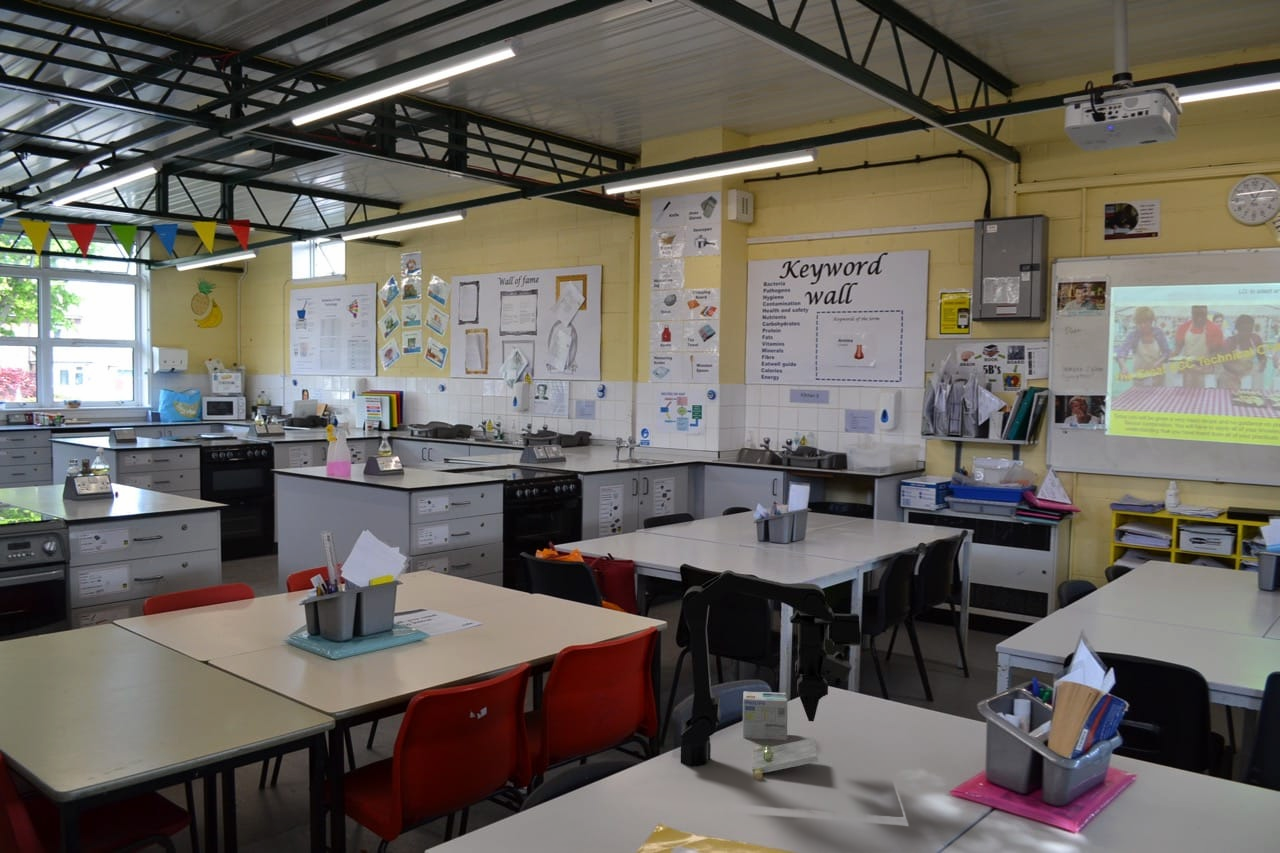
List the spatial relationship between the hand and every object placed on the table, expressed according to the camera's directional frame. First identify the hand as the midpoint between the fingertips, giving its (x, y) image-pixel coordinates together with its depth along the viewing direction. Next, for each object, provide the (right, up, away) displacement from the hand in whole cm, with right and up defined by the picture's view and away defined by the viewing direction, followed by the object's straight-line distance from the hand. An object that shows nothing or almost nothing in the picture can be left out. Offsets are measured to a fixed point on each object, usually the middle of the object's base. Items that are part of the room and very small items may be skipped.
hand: (810, 715), depth 198 cm
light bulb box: (-7, -13, +21) cm, 26 cm away
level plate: (-5, -10, +1) cm, 11 cm away
